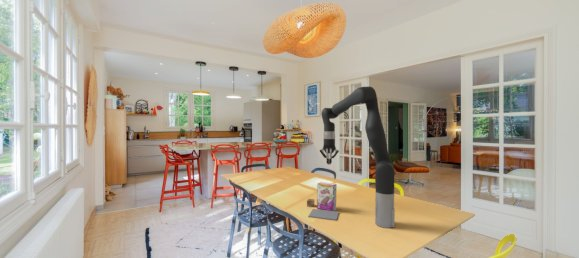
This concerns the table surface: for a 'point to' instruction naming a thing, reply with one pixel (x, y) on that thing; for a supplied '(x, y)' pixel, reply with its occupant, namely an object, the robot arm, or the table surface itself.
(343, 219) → the table surface
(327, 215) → the rubber mat
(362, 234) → the table surface
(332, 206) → the candy bar box
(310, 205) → the walnut block
